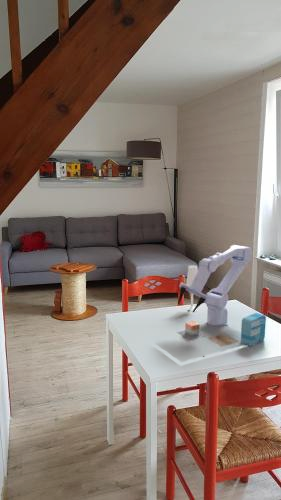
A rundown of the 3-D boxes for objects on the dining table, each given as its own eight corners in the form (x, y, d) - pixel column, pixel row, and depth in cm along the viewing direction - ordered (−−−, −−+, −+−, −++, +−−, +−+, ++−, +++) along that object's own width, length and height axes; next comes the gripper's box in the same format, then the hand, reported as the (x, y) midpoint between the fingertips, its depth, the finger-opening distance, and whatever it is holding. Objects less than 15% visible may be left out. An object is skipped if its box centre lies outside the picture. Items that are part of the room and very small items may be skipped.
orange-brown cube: (193, 331, 191) (193, 321, 190) (199, 334, 187) (199, 324, 186) (185, 333, 188) (185, 322, 188) (191, 336, 185) (191, 326, 184)
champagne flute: (191, 306, 229) (192, 264, 224) (200, 309, 224) (201, 266, 219) (183, 309, 224) (183, 266, 220) (192, 312, 219) (193, 268, 215)
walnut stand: (224, 336, 188) (224, 333, 188) (239, 344, 180) (239, 341, 179) (207, 340, 183) (207, 337, 183) (221, 348, 175) (221, 346, 175)
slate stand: (194, 330, 195) (194, 328, 194) (207, 338, 186) (207, 335, 186) (176, 334, 190) (176, 332, 189) (189, 342, 181) (189, 339, 181)
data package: (249, 347, 176) (250, 321, 174) (240, 344, 180) (241, 318, 177) (264, 340, 184) (266, 314, 182) (255, 337, 187) (257, 312, 185)
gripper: (186, 272, 186) (172, 298, 183) (214, 287, 185) (201, 314, 181) (184, 276, 193) (171, 301, 190) (212, 290, 191) (199, 316, 188)
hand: (185, 307), depth 186 cm, fingers open, 7 cm apart
